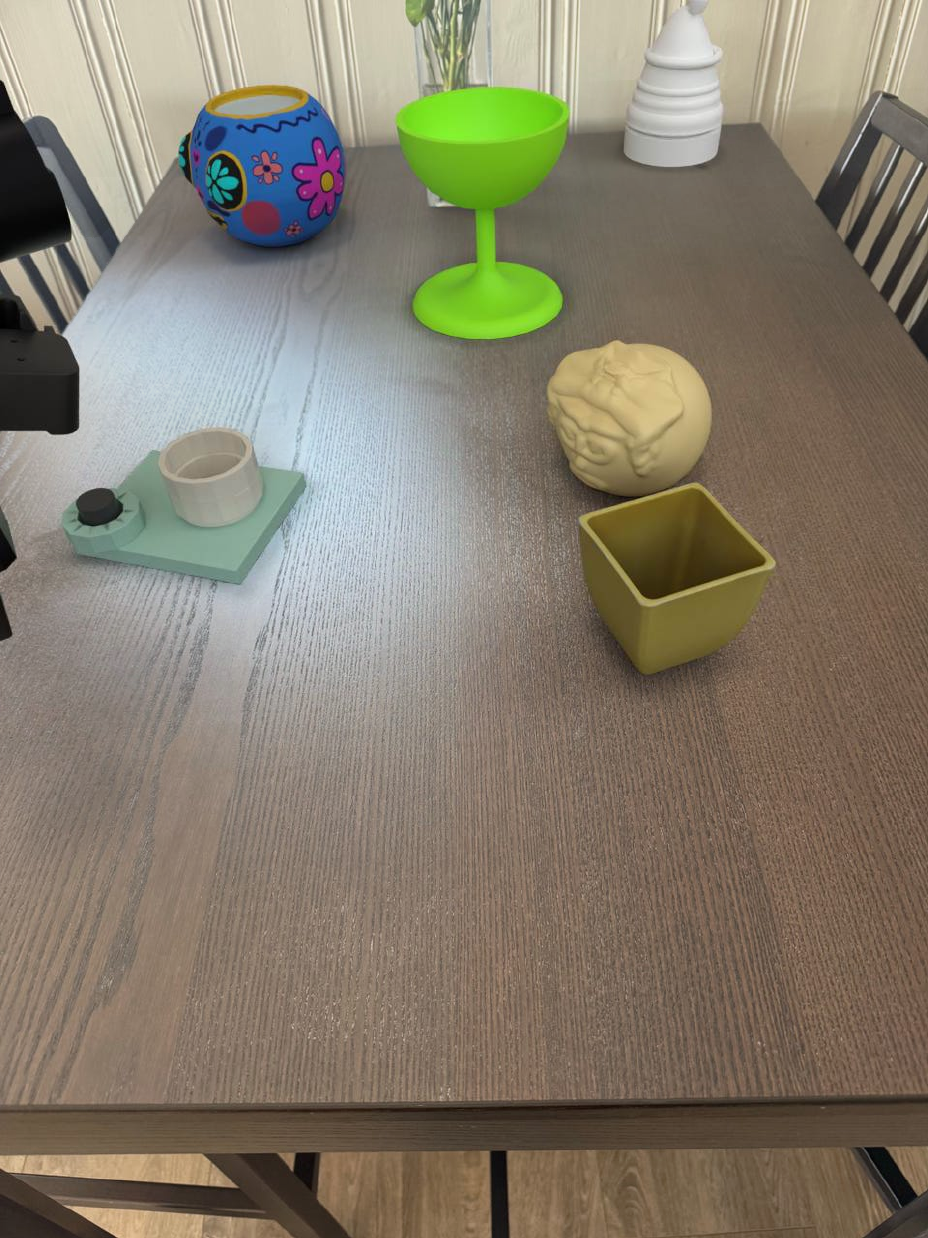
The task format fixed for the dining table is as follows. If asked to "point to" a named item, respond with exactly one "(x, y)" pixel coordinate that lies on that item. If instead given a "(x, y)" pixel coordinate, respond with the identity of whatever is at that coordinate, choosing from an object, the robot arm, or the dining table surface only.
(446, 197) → the wineglass
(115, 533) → the scale
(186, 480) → the bowl
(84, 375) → the dining table surface
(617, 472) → the sculpture
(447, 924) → the dining table surface
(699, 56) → the honey pot
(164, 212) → the dining table surface
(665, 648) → the flower pot
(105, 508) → the button
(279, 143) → the ceramic pot
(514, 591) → the dining table surface
